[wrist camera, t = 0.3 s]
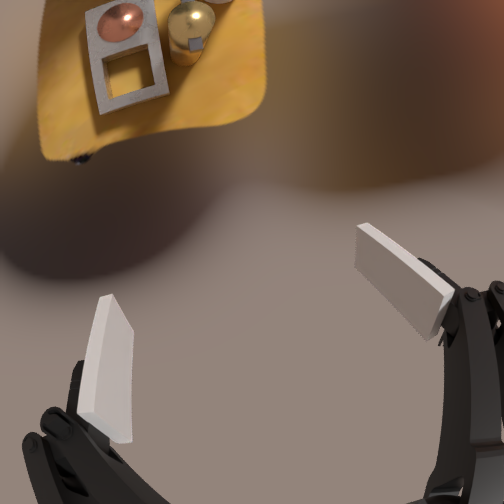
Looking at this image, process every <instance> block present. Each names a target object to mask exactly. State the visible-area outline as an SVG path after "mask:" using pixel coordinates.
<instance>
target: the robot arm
mask: <svg viewBox="0 0 504 504" xmlns="http://www.w3.org/2000/svg"><path fill="white" fill-rule="evenodd" d="M356 227H357V228H356V252H355V268H356V269H357V270H358V271H359V272H360V273H361V274H362V275H363V276H364V277H365V278H366V279H367V280H368V281H369V282H370V283H371V284H372V285H373V286H374V287H375V288H376V289H377V290H378V291H379V292H380V293H381V294H382V295H383V296H384V297H385V298H386V299H387V300H388V301H389V302H390V303H391V304H392V305H393V306H394V307H395V308H396V310H397V311H398V312H399V313H400V314H401V315H402V316H403V317H404V318H405V319H406V320H407V321H408V322H409V323H410V324H411V325H412V326H413V328H414V329H415V330H416V331H417V332H418V333H419V334H420V335H421V336H422V337H423V338H424V340H425V341H428V340H430V339H431V338H433V337H434V336H436V335H437V334H438V331H439V329H440V327H441V326H442V327H443V328H444V329H445V330H444V332H443V334H442V336H441V339H440V341H439V344H438V346H440V345H441V343H442V341H443V342H444V345H443V346H444V402H443V416H442V427H441V436H440V444H439V450H438V456H437V462H436V466H435V468H434V471H433V472H432V474H431V475H430V477H429V480H428V482H427V486H426V489H425V493H424V497H423V499H420V500H417V501H414V502H410V503H407V504H504V501H503V500H504V443H503V442H502V441H501V417H502V421H503V426H504V283H503V282H501V281H493V282H492V283H491V284H490V287H489V290H487V291H483V292H479V291H478V290H476V289H474V288H471V287H465V288H463V289H462V288H461V287H459V286H458V285H457V284H456V283H455V282H453V281H452V280H451V279H450V278H449V277H447V276H446V275H445V274H444V273H441V271H440V270H439V269H436V267H435V266H434V265H432V264H431V263H430V262H428V261H426V260H424V259H421V258H415V257H414V256H413V255H412V254H410V253H409V252H407V251H406V250H405V249H404V248H402V247H401V246H399V245H398V244H397V243H396V242H394V241H393V240H391V239H390V238H389V237H387V236H386V235H384V234H383V233H382V232H380V231H379V230H377V229H376V228H374V227H373V226H371V225H370V224H369V223H364V224H361V225H357V226H356ZM498 320H500V322H501V326H500V327H499V328H498V326H497V322H498ZM133 341H134V331H133V329H132V327H131V326H130V324H129V322H128V321H127V319H126V317H125V316H124V314H123V312H122V310H121V309H120V307H119V305H118V303H117V301H116V299H115V298H114V296H113V294H110V295H106V296H103V297H100V299H99V302H98V306H97V309H96V313H95V317H94V321H93V325H92V329H91V334H90V338H89V342H88V347H87V352H86V357H85V360H81V361H78V362H77V364H76V366H75V368H74V370H73V373H72V379H71V381H72V382H71V384H70V390H69V395H68V402H67V409H66V413H65V412H64V411H63V410H62V409H60V408H58V407H51V408H49V409H47V410H46V411H45V412H44V414H43V415H42V418H41V422H40V427H41V430H42V432H44V433H45V434H47V436H44V437H42V436H40V435H39V434H37V433H35V432H30V433H28V434H27V435H26V436H25V438H24V440H23V443H22V450H23V455H24V459H25V463H26V467H27V471H28V474H29V478H30V481H31V484H32V487H33V490H34V493H35V496H36V499H37V502H38V504H170V503H169V502H168V501H166V500H165V499H164V498H163V497H162V496H161V495H159V494H158V493H157V492H156V491H155V490H154V489H153V488H151V487H150V486H149V485H148V484H147V483H146V482H145V481H144V480H143V479H142V478H141V477H140V476H139V475H138V474H137V473H136V472H135V471H134V470H133V469H132V468H131V467H130V466H129V465H128V464H127V463H126V462H125V461H124V460H123V459H122V458H121V457H120V456H119V454H118V453H117V452H116V451H115V450H114V449H113V448H112V447H111V446H110V442H109V439H111V440H112V441H114V442H115V443H117V444H119V443H132V442H133V441H132V440H133V439H132V400H131V399H132V391H131V390H132V359H133ZM462 487H463V490H462V495H461V497H460V496H458V494H459V491H460V490H461V488H462Z"/></svg>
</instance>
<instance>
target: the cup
mask: <svg viewBox="0 0 504 504" xmlns="http://www.w3.org/2000/svg"><path fill="white" fill-rule="evenodd" d="M205 1H207V2H210V3H215V4H223V3H227V2H230V1H232V0H205Z"/></svg>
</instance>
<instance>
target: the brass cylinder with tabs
mask: <svg viewBox="0 0 504 504" xmlns="http://www.w3.org/2000/svg"><path fill="white" fill-rule="evenodd" d="M214 23H215V13H214V11H213V10H212V8H211V7H210V6H208V5H207V4H205V3H202V2H198V1H195V0H181V4H180V5H178V6H177V7H175V8H174V9H173V10H172V11H171V13H170V15H169V17H168V30H169V45H170V57H171V59H172V61H173V62H174V63H175V64H176V65H179V66H190V65H192V64H194V63H195V62H196V61H197V60H198V59H199V57H200V55H201V53H202V51H203V49H204V45H205V43H206V41H207V39H208V36H209V34H210V32H211V30H212V28H213V25H214Z"/></svg>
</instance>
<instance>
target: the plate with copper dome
mask: <svg viewBox="0 0 504 504" xmlns="http://www.w3.org/2000/svg"><path fill="white" fill-rule="evenodd" d="M85 21H86V32H87V42H88V50H89V58H90V65H91V71H92V77H93V83H94V89H95V94H96V99H97V104H98V109H99V113H100V115H107V114H110V113H112V112H115V111H118V110H121V109H124V108H127V107H130V106H133V105H136V104H139V103H142V102H145V101H149V100H152V99H156V98H159V97H163V96H167V95H170V93H169V87H168V82H167V77H166V72H165V67H164V61H163V55H162V50H161V44H160V38H159V32H158V26H157V19H156V12H155V6H154V0H115V1H112V2H109V3H106V4H103V5H101V6H98V7H95V8H93V9H90V10H88V11H86V12H85ZM147 49H149V55H150V60H151V66H152V71H153V77H154V82H155V85H153V86H149V87H146V88H143V89H139V90H136V91H133V92H130V93H127V94H124V95H121V96H118V97H115V98H113V95H112V90H111V85H110V79H109V74H108V68H107V62H110V61H112V60H115V59H118V58H121V57H124V56H127V55H130V54H133V53H137V52H140V51H143V50H147Z"/></svg>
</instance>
